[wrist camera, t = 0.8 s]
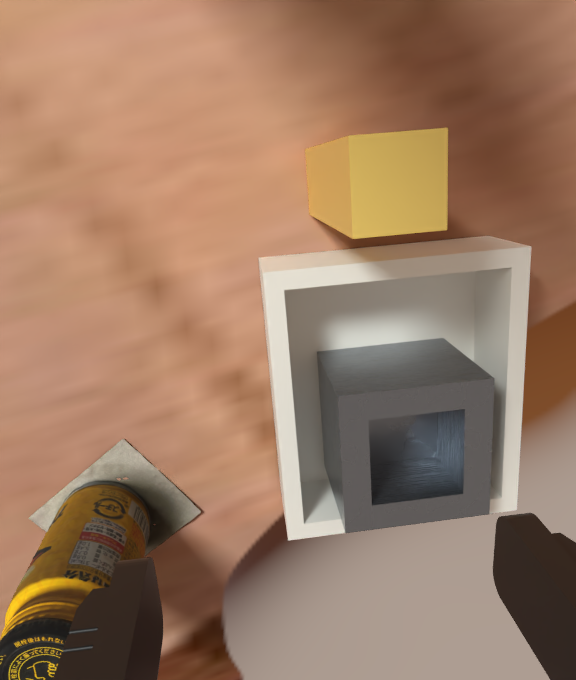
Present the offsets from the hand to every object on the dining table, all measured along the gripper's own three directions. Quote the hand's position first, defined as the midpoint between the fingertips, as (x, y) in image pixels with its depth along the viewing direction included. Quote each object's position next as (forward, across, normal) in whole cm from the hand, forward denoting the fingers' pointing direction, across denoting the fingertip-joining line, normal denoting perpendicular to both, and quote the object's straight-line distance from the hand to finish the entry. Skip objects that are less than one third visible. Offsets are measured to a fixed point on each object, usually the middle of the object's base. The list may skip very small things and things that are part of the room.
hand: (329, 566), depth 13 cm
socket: (+21, -7, +6) cm, 23 cm away
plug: (+22, -5, -8) cm, 24 cm away
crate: (+22, -7, +4) cm, 23 cm away
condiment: (+22, +11, +13) cm, 28 cm away
